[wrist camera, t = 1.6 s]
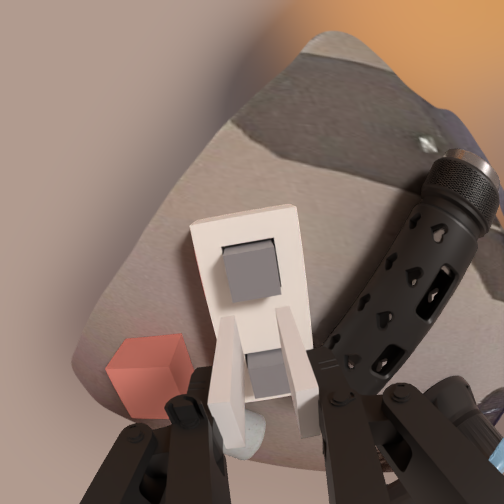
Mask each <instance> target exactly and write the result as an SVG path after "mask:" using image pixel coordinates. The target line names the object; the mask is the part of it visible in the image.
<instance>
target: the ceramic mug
mask: <svg viewBox="0 0 504 504" xmlns="http://www.w3.org/2000/svg"><path fill="white" fill-rule="evenodd" d="M265 425H266V423H265V419H264V417H263V416H262V415H261V414H258V413H255V412H252V411H250V410H247V409H245V443H246V447H242V448H231V449H226V447H225V445H224V443H223V453H224V454H226V455H229V456H232V457H234V458H237V459H240V460H247V459H249V458H251V457H252V456H253V455H254V454H255V452H256V451H257V450H258V448H259V447H260V445H261V443H262V440H263V437H264V434H265Z"/></svg>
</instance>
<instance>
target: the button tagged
mask: <svg viewBox="0 0 504 504" xmlns="http://www.w3.org/2000/svg"><path fill="white" fill-rule="evenodd" d="M223 259H224V264H225V269H226V274H227V279H228V283H229V288H230V293H231V297H232V302H233V303H236V302H242V301H248V300H254V299H260V298H265V297H271V296H276V295H281V288H280V281H279V275H278V268H277V262H276V256H275V249H274V246H273V244H272V242H271V239H270V238H268V239H262V240H256V241H251V242H245V243H239V244H234V245H228V246H225V250H224V253H223Z"/></svg>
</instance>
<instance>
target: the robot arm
mask: <svg viewBox="0 0 504 504" xmlns="http://www.w3.org/2000/svg"><path fill="white" fill-rule="evenodd" d="M275 312H276V318H277V325H278V331H279V337H280V344H281V350H282V355H283V359H284V364H285V368H286V373H287V377H288V382H289V386H290V391H291V395H292V400H293V404H294V409H295V414H296V418H297V423H298V427H299V432H300V436H301V439H303V438H308V437H313V436H317V435H321V434H320V430H321V433H322V437H323V454H324V458H325V467H326V476H327V485H328V494H329V503H330V504H504V475H503V474H502V473H503V472H504V438H503V437H502V436H501V434H500V433H499V432H498V431H497V430H496V429H495V427H494V426H493V425H492V424H491V423H490V421H489V420H488V419H487V418H486V417H485V416H484V415H483V413H482V412H481V411H480V410H479V409H478V407H477V405H476V402H475V399H474V396H473V393H472V391H471V388H470V385H469V384H468V383H467V382H466V380H465V379H464V378H463V377H461V376H452V377H449V378H446V379H444V380H442V381H441V382H439V383H437V384H436V385H434V386H433V387H432V388H430V389H429V390H428V391H427V392H426V393H424V394H422V393H421V392H420V391H419V390H418V389H417V388H416V387H414V386H413V385H411V384H408V383H396V384H392V385H390V386H389V387H387V388H386V389H385V391H384V392H383V395H361V394H358V392H357V391H356V390H354V389H352V388H350V386H349V384H348V382H347V380H346V378H345V376H344V374H343V372H342V370H341V368H340V366H339V364H338V362H337V360H336V358H335V356H334V354H333V352H332V351H331V350H329V349H328V348H326V347H325V346H324V347H319V348H315V349H310V350H305V348H304V345H303V342H302V339H301V337H300V334H299V331H298V328H297V326H296V323H295V320H294V317H293V315H292V312H291V309H290V306H285V307H279V308H275ZM164 409H165V411H166V413H167V415H168V417H169V419H170V421H171V423H172V424H171V425H169V426H167V427H163V428H159V429H155V430H151V428H150V427H149V426H148V425H146V424H143V423H135V424H132V425H129V426H127V427H126V428H124V429H123V430H122V432H121V433H120V434H119V436H118V438H117V440H116V441H115V443H114V445H113V446H112V448H111V450H110V451H109V453H108V455H107V457H106V458H105V460H104V462H103V464H102V465H101V467H100V469H99V470H98V472H97V474H96V475H95V477H94V479H93V481H92V482H91V484H90V486H89V488H88V489H87V491H86V493H85V495H84V497H83V498H82V500H81V502H80V504H231V499H230V491H229V484H228V474H227V465H226V458H225V455H224V453H223V443H224V445H225V447H226V449H231V448H242V447H246V443H245V380H244V354H243V349H242V345H241V341H240V336H239V332H238V328H237V323H236V319H235V315H232V316H226V317H221V318H220V324H219V330H218V337H217V343H216V349H215V356H214V362H213V366H209V367H199V368H197V369H196V370H195V371H194V372H193V373H192V374H191V377H190V382H189V386H188V390H187V394H181V395H177V396H175V397H173V398H171V399H170V400H169V401H168V402H167V403H166V405H165V407H164ZM375 445H376V446H377V448H378V449H379V451H380V452H381V454H382V455H383V457H384V458H385V459H386V461H387V462H388V464H389V465H390V467H391V468H392V470H393V471H394V473H395V474H396V476H397V477H398V480H396V481H394V482H392V483H391V484H387V485H386V483H385V479H384V475H383V471H382V468H381V464H380V461H379V457H378V454H377V450H376V447H375Z"/></svg>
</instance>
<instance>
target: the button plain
mask: <svg viewBox="0 0 504 504" xmlns="http://www.w3.org/2000/svg"><path fill="white" fill-rule="evenodd" d="M247 356H248V372H249V376H250V380H251V384H252V388H253V392H254V396H255V399H257V398H264V397H271V396H277V395H282V394H288V393H291V391H290V386H289V382H288V377H287V373H286V368H285V364H284V359H283V355H282V350H281V348H278V349H272V350H266V351H260V352H254V353H247Z"/></svg>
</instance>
